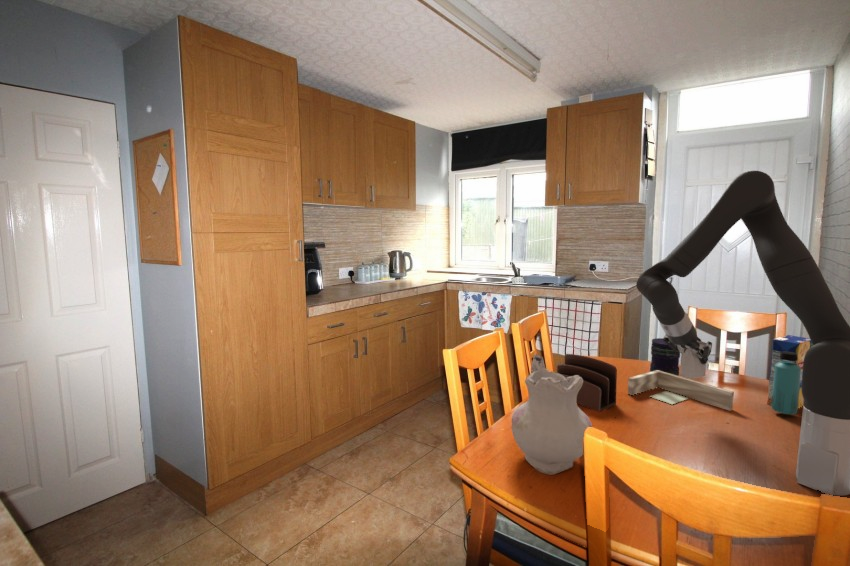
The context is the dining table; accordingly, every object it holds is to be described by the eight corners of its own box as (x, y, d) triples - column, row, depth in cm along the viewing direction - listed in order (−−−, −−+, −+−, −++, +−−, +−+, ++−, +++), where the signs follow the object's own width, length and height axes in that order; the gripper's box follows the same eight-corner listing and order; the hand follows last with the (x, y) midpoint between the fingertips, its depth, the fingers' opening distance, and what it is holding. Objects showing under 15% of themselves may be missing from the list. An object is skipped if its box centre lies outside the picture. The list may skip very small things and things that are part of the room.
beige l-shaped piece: (703, 421, 130) (705, 402, 129) (627, 394, 152) (628, 377, 151) (732, 409, 138) (733, 391, 138) (656, 385, 160) (657, 369, 159)
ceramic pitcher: (494, 448, 117) (489, 360, 113) (554, 430, 123) (551, 347, 120) (542, 493, 97) (538, 388, 93) (611, 470, 103) (610, 370, 99)
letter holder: (564, 388, 158) (566, 350, 157) (616, 405, 143) (618, 363, 141) (547, 394, 152) (549, 355, 151) (599, 413, 137) (601, 369, 135)
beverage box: (766, 404, 143) (773, 339, 140) (782, 397, 148) (788, 334, 145) (792, 411, 137) (799, 343, 134) (807, 404, 142) (814, 339, 139)
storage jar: (643, 376, 170) (645, 339, 168) (663, 373, 173) (665, 337, 171) (664, 384, 161) (666, 345, 159) (684, 382, 164) (687, 343, 162)
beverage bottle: (802, 420, 130) (809, 355, 128) (777, 418, 132) (783, 354, 129) (789, 411, 137) (795, 349, 134) (765, 409, 138) (770, 348, 136)
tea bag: (705, 375, 132) (707, 343, 131) (692, 379, 128) (695, 346, 127) (692, 372, 135) (694, 340, 134) (680, 375, 132) (682, 343, 130)
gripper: (708, 319, 120) (728, 356, 127) (659, 311, 132) (679, 345, 139) (696, 340, 118) (717, 376, 125) (647, 330, 130) (668, 364, 137)
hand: (697, 360), depth 132 cm, fingers closed on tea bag, 3 cm apart
